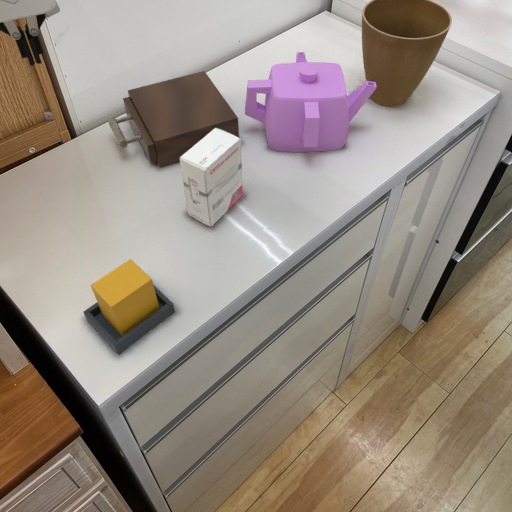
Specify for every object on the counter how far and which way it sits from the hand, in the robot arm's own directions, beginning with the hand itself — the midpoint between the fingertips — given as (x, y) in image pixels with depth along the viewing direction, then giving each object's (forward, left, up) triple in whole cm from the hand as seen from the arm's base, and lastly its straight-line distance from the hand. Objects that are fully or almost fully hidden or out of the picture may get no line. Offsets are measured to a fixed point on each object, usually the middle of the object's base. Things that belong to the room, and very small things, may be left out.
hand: (34, 59), depth 76 cm
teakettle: (+41, -9, -19) cm, 46 cm away
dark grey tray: (+1, -34, -19) cm, 39 cm away
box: (+1, -34, -18) cm, 39 cm away
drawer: (+17, 0, -18) cm, 25 cm away
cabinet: (+21, 0, -19) cm, 28 cm away
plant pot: (+60, -7, -19) cm, 63 cm away
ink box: (+19, -20, -19) cm, 33 cm away
